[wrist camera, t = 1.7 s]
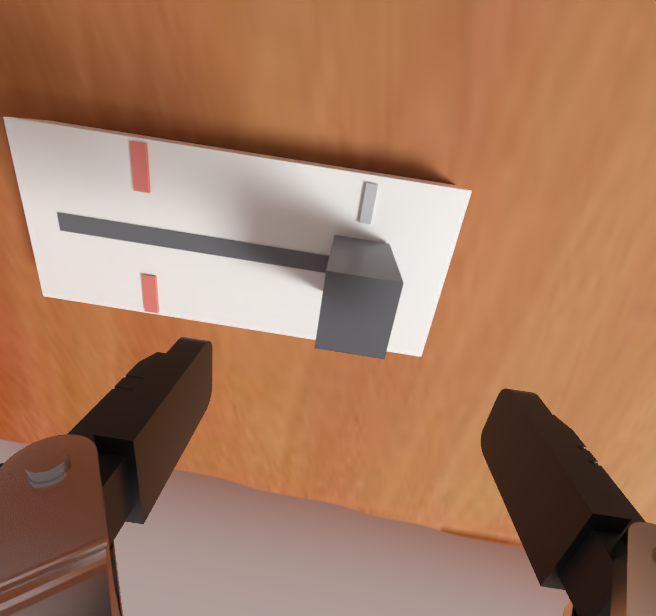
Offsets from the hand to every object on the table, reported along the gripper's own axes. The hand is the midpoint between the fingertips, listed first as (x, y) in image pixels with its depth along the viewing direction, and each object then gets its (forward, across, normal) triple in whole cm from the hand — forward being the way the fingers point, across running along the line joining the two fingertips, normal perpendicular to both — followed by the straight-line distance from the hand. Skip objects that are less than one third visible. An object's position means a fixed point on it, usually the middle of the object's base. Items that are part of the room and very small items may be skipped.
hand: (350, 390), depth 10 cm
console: (+14, +7, 0) cm, 16 cm away
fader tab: (+11, 0, 0) cm, 11 cm away
